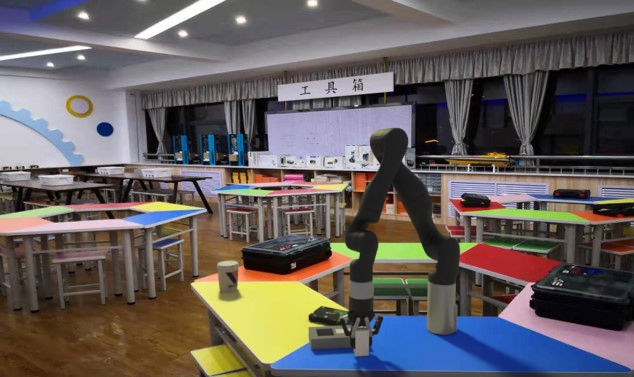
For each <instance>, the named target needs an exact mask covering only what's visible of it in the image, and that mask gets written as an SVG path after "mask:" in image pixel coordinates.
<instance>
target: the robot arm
mask: <svg viewBox="0 0 634 377" xmlns="http://www.w3.org/2000/svg"><path fill="white" fill-rule="evenodd" d="M408 147H409V136H408V134H407V132H406V131H405V130H404V129H403V128H400V127H387V128H381V129H376V130H374V131H373V132H372V133H371V135H370V138H369V148H370V150H371V154H372V155H373V156H374V158H375V159H376V161H377V162H378V163H379V167H378V169H377V171H376V172H375V174H374V176H373V177H372V178H371V180H370V182H369V183H368V185H366V188H365V189H364V191H363V194H362V197H361V198H360V203H359V206H358V209H357V210H358V211H357V213H356V215H355V216H354V217H353V219H352V221H351V223H350V224H349V226H348V227H347V230H346V232H345V235H344V243H345V246H346V248H347V249H348V250H350V251H353V252H356V253H359V256H358V258H355V259H352V260H351V261H350V263H349V282H348V310H347V311H348V313H347V315H345V316H339V319H340V322H341V325H342V328H343V330H344V333H345V336H349V337H350V345H351V347H352V348H351V349H355V331H357V329H358V327H361V326H363V327H366V328H367V330H369V349H371V347H372V346H373V336H375V335H378V334H379V332H380V330H381V326H382V324H383V321H384V317H383V316H384V315H382V313H375V311H374V303H375V302H374V301H375V299H374V297H375V296H374V295H375V290H374V265H375V261H376V257H377V254H378V250H379V239H378V236H377V234H376V233H375V232H374V231H372V230H367V229H369V226H370V225H374V224H377V223H379V221H380V219H381V215H382V213H383V210H384V207H385V202H386V198H387V196H388V194H389V191H390V188H391V186H392V187H393V189H394V191H395V193H396V195H397V196H398V199H399V201H400V203H401V204H402V207H403V209H404V210H405V212H406V213H407V215H408V217H409V218H408V219H410V222H411V224H412V225H413V227H414V229H415V231H416V234H417V236H418V239H419V241H420V244H421V246H422V249H423V252H424V253H425V255H426V257H428V258H429V259H431V260H434V261H435V262H437V264H436V269H432V270H430V271H428V274H427V304H426V305H427V306H426V308H427V309H426V310H427V311H426V313H427V314H426V329H427V330H428V332H430V333H432V334H435V335H442V336H443V335H444V336H447V335H451V334H453V333H457V332H458V331H457V330H458V304H457V303H456V290H457V289H456V286H457V285H456V282H457V281H456V280H457V277H458V275H459V270H460V260H461V246H460V243H459V241H458V239H456V238H455V237H452V236H450V235H445V234H443V233H441V232H440V231H439V229H438V228H437V226H436V223H435V221H434V220H433V208H434V207H433V200H432V198H431V196H430V192H429V191H428V189H427V187H426V186H425V184H424V182H423V181H422V180H421V179H420V178H419V176H417V175H416V174H415V173H414V172H413V171H412V170H410V168H408V167H407V165H405V163H404V162H403V160H404V158H405V155H406V152H407V151H408ZM348 318H349V320H350V321H351V323H350V325H351V329H350V331H349V330H347V327H346V324H345V323H347V319H348ZM373 319H374V324H373V326H371V322H372V321H373Z"/></svg>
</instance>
